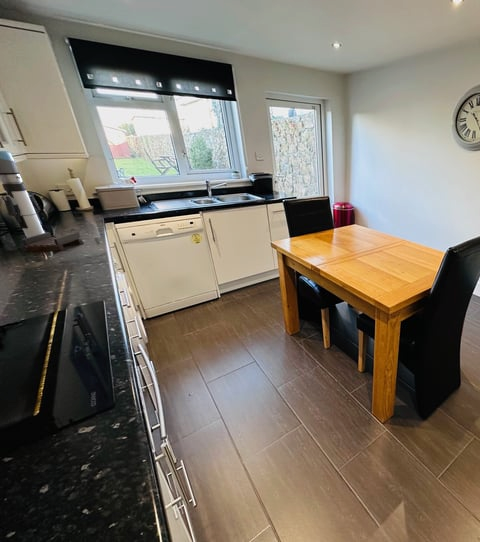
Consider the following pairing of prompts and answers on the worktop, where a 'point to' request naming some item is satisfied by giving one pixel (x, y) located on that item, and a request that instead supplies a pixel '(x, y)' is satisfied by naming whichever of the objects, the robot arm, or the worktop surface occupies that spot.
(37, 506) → the worktop surface
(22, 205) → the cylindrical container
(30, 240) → the rack
